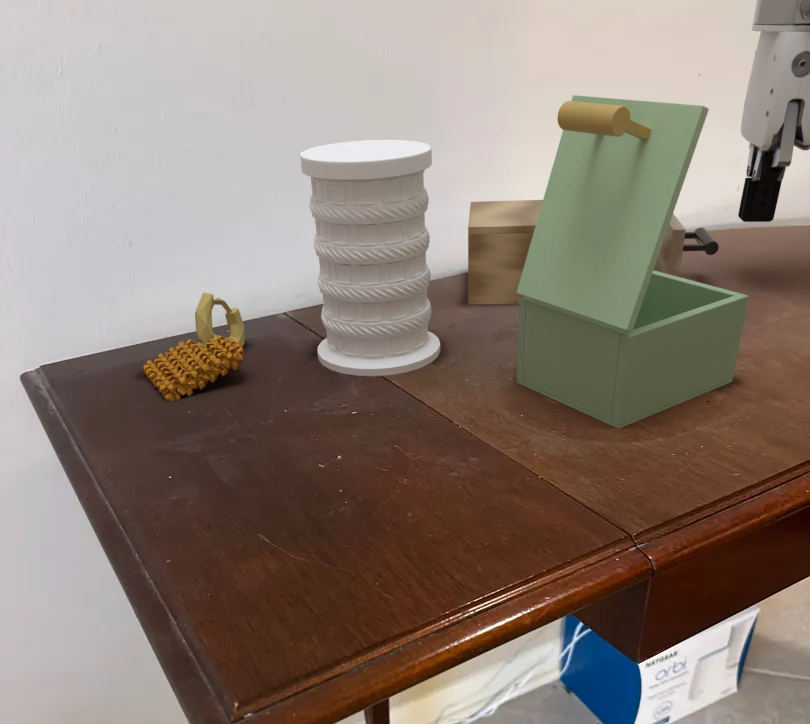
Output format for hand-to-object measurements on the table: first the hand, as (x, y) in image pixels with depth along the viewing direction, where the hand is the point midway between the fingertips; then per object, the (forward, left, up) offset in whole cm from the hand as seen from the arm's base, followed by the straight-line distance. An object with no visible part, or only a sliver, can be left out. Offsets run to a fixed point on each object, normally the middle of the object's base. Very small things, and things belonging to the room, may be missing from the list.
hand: (755, 219), depth 85 cm
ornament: (+57, +14, -7) cm, 59 cm away
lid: (+24, +26, +8) cm, 36 cm away
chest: (+21, +24, -7) cm, 32 cm away
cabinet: (+23, -4, -7) cm, 24 cm away
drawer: (+12, -2, -6) cm, 14 cm away
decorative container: (+41, +13, -7) cm, 43 cm away
